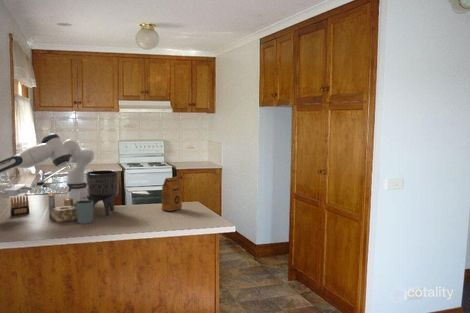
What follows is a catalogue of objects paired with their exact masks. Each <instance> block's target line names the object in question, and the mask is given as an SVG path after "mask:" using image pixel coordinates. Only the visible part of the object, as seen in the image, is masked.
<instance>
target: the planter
mask: <svg viewBox="0 0 470 313" xmlns="http://www.w3.org/2000/svg"><path fill="white" fill-rule="evenodd" d="M85 175H86V183H87V191H88V200H92V201H93V210H94V208H95V206H96V204H97V203H98V202H100V201H101V202H102V203H103V206H104V214H105V215H104V216H106V217H109V216H110V212H114V211H115V197H117V195H118V194H119V176H120V175H119V171H117V170H111V169H109V170H93V171H87V172H86V174H85Z"/></svg>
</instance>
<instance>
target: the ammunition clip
mask: <svg viewBox="0 0 470 313" xmlns="http://www.w3.org/2000/svg"><path fill="white" fill-rule="evenodd" d="M9 213H10V216H11V217H14V216H16V217H17V216H22V215H23V216H24V215H28V214H30V204H29V197H28V195H23V196H22V195H20V196H19V195H17V196H10V212H9Z"/></svg>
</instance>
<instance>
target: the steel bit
mask: <svg viewBox="0 0 470 313" xmlns="http://www.w3.org/2000/svg"><path fill="white" fill-rule="evenodd" d="M47 198H48V218H49V219H52V213H51V208H56V203H55V202H56V199H55V194H54V193H50V194H48V197H47Z"/></svg>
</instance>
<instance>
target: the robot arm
mask: <svg viewBox="0 0 470 313" xmlns="http://www.w3.org/2000/svg"><path fill="white" fill-rule="evenodd" d="M48 159H50V160H51V162H52V164H53V165H54V166H55V167H58V168H60V167H63V166H66V165H69V164H70V165H72V164H73V165H75V167H73V168H71V169H70V170H68V171H67V183H66V191H67V194H66V199H69V198H71V199H73V201H74V205H76V204H75V202H77V201H82V200H88V191H87V182H85V171H86V168H87V167H88V165H89V164H91V163H92V162H93V161H94V159H95V152H94V150H92V149H91V148H86V147H81V146H80V144H79V143H78V142H77V141H76V140H74V139H69V138H68V139H66V140H64V141H62V140H61V138H60V136H59V135H58V134H57V133H55V132H54V133H53V132H52V133H49V134H46V135H45V136H43V138H42V139H41V142H40V143H39V144H37V145H33V146H31V147H29V148H27V149H25V150H22V151H21V152H18V153H16V154H14V155H12V156H10V157H8V158H7V157H6V158H5V159H3V160H0V181H1V180H2V173H4V172H7V171H9V170H11V169H29V168H32V167H35V166H37V165H40V164H41V163H43V162H45V161H47V160H48ZM29 191H33V187H32V186H27V185H26V184H18V183H17V184H16V183H13V182H3V183H1V182H0V199H8V198H9V199H10V197H17V196H19V195H22V194H27V193H29Z"/></svg>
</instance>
